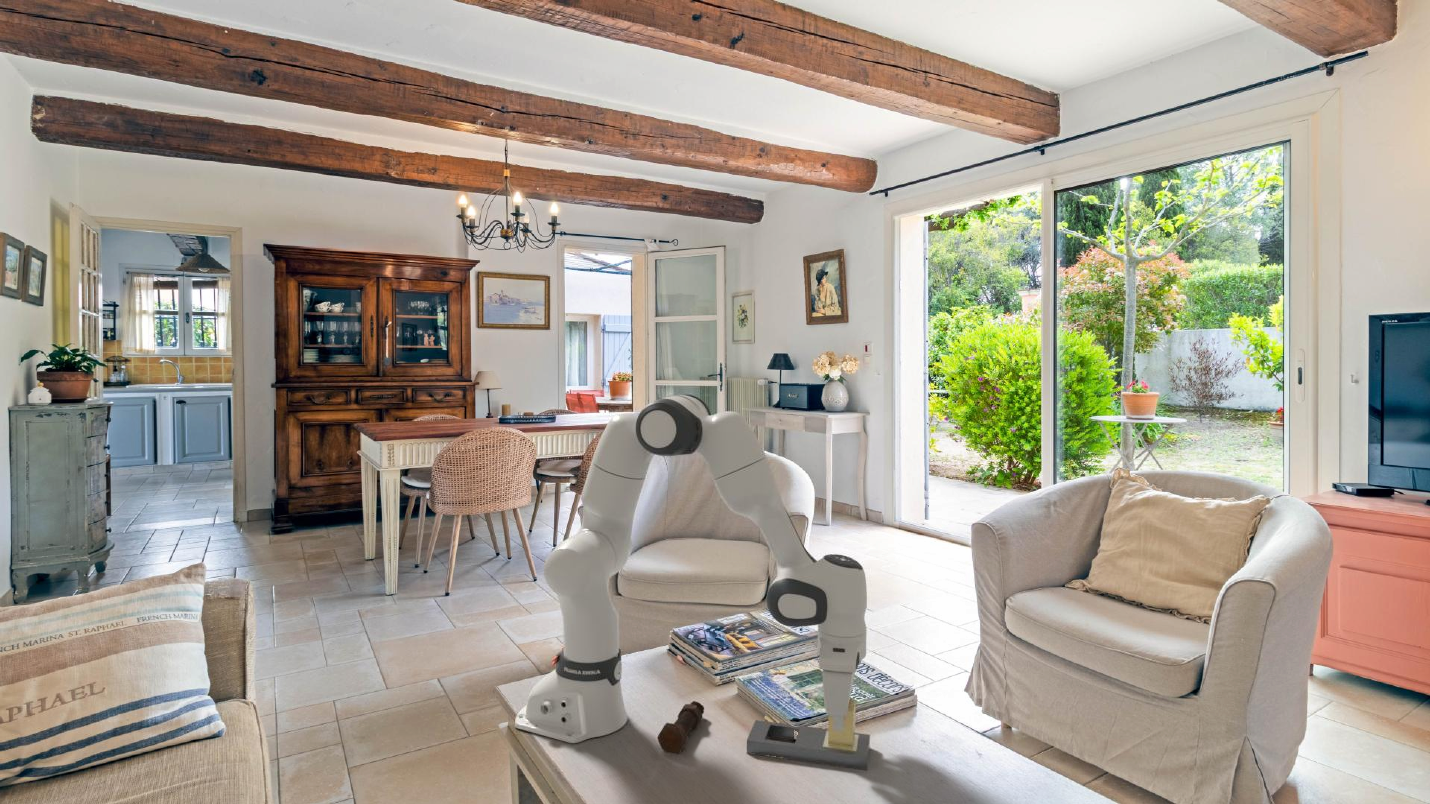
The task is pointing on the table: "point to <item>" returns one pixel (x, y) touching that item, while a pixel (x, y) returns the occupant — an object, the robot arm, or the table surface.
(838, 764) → the plate
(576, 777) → the table surface
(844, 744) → the tan block
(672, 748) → the bolt
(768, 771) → the table surface
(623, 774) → the table surface
